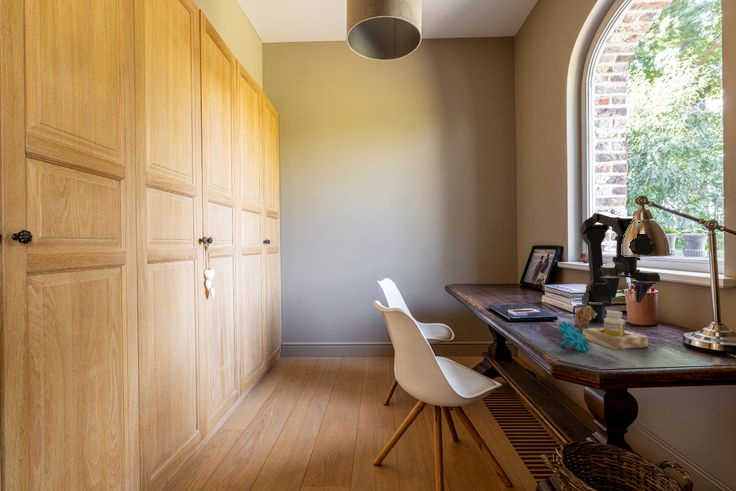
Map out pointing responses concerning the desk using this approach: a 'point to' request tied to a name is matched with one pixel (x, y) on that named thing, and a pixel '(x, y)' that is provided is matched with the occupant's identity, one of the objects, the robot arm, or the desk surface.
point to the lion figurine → (584, 316)
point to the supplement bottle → (614, 323)
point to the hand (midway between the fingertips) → (625, 300)
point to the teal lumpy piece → (573, 337)
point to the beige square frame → (616, 339)
